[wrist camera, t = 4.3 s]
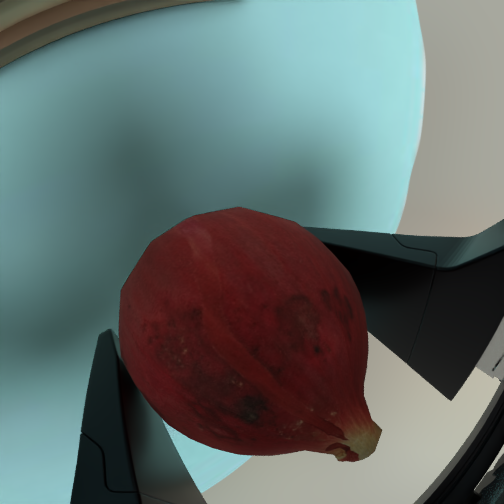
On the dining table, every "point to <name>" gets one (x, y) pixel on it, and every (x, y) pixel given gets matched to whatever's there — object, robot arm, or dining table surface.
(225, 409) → the pomegranate
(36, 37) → the pedestal
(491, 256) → the robot arm
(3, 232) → the dining table surface
